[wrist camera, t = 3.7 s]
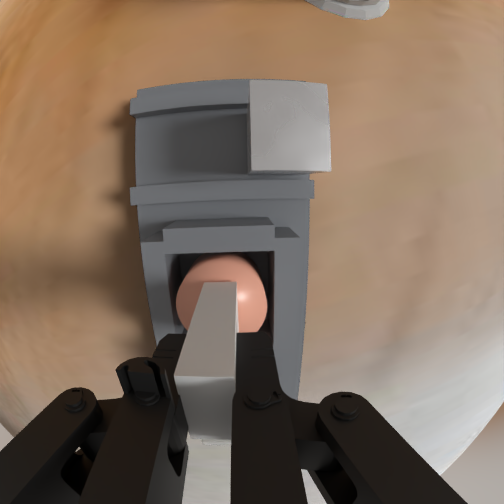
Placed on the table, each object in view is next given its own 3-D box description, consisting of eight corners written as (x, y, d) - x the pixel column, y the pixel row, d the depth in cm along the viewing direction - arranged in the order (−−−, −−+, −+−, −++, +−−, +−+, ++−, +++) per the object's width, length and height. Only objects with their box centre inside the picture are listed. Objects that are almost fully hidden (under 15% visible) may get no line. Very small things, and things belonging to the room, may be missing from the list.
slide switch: (247, 174, 14) (251, 170, 10) (246, 111, 14) (249, 79, 9) (302, 174, 15) (331, 171, 10) (300, 112, 14) (326, 84, 9)
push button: (190, 318, 16) (182, 345, 13) (183, 249, 15) (171, 264, 12) (262, 317, 16) (267, 344, 13) (262, 246, 15) (267, 262, 12)
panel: (178, 399, 21) (169, 441, 16) (147, 98, 15) (118, 73, 10) (292, 397, 21) (302, 439, 16) (298, 91, 15) (319, 61, 11)
